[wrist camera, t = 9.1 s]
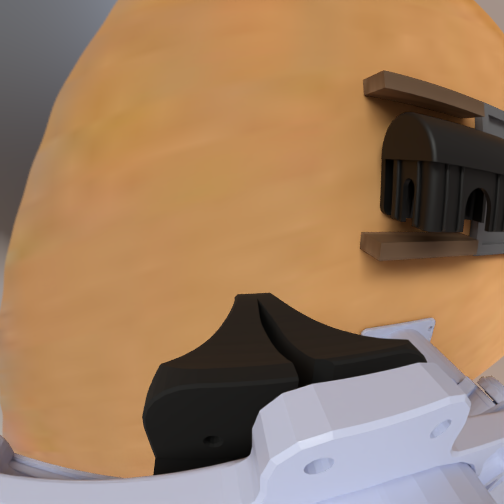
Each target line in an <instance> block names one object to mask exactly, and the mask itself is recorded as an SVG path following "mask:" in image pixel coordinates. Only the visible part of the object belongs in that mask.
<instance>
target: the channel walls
mask: <svg viewBox="0 0 504 504" xmlns="http://www.w3.org/2000/svg"><path fill="white" fill-rule="evenodd" d="M363 84H364V95H365V96H371V97H377V98H382V99H387V100H392V101H397V102H401V103H406V104H410V105H414V106H419V107H423V108H427V109H430V110H434V111H438V112H441V113H445V114H448V115H452V116H455V117H458V118H474V117H485V110H484V103H483V102H481V101H479V100H476V99H474V98H471V97H469V96H466V95H463V94H461V93H458V92H455V91H453V90H450V89H447V88H444V87H441V86H438V85H435V84H432V83H429V82H425V81H422V80H419V79H415V78H412V77H408V76H404V75H401V74H397V73H393V72H389V71H384V70H383V71H381V72H379V73H377V74H375V75H373V76H371V77H368V78H366V79H364V80H363ZM478 243H479V240H477V239H474V238H472V237H469V236H466V235H464V234H461V233H459V232H361V242H360V249H362V250H363V251H365V252H366V253H368V254H369V255H371V256H373V257H374V258H376V259H377V260H379V261H385V260H402V259H419V258H435V257H450V256H465V255H477V249H478Z"/></svg>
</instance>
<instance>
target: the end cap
mask: <svg viewBox="0 0 504 504" xmlns="http://www.w3.org/2000/svg"><path fill="white" fill-rule="evenodd" d="M381 159H382V171H381V196H380V209H381V211H382V212H383V213H385V214H387V215H391V218H392V219H395V220H398V221H400V222H406V218H412V226H413V227H416V228H419V229H421V230H424V231H428V232H463V226H464V219H468V220H474V221H477V222H480V223H484V219H485V209H486V201H487V211H486V221H485V229H484V231H487V232H504V139H502V138H500V137H498V136H495V135H492V134H489V133H486V132H483V131H480V130H477V129H474V128H470V127H467V126H464V125H460V124H457V123H453V122H450V121H446V120H442V119H439V118H435V117H431V116H427V115H422V114H418V113H413V112H405V113H403V114H400V115H399V116H397V117H396V118H395V119H394V120H393V121H392V123H391V124H390V126H389V128H388V129H387V132H386V135H385V138H384V142H383V147H382V158H381Z"/></svg>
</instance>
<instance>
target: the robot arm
mask: <svg viewBox="0 0 504 504" xmlns="http://www.w3.org/2000/svg"><path fill="white" fill-rule="evenodd" d="M434 325H435V320H434V319H433V318H426V319H421V320H416V321H410V322H405V323H399V324H393V325H387V326H380V327H374V328H367V329H365V330H363V331H362V333H361V335H358V334H353V333H350V332H346V331H342V330H339V329H336V328H333V327H330V326H327V325H325V324H322V323H320V322H317V321H315V320H313V319H311V318H309V317H307V316H305V315H304V314H302V313H300V312H298V311H297V310H295V309H293V308H292V307H290V306H289V305H287V304H286V303H284V302H283V301H281V300H280V299H278V298H277V297H275V296H274V295H272V294H271V293H257V294H238V295H237V296H236V297H235V301H234V304H233V307H232V309H231V311H230V313H229V315H228V316H227V318H226V320H225V321H224V322H223V324H222V325H221V327H220V328H219V329H218V330H217V332H216V333H215V334H214V335H213V336H212V337H211V338H210V339H209V340H207V341H206V342H205V343H203V344H202V345H201V346H199V347H198V348H196V349H195V350H193V351H191V352H189V353H187V354H185V355H183V356H181V357H179V358H176V359H174V360H171V361H168V362H166V363H162V364H161V365H160V366H159V368H158V370H157V372H156V374H155V376H154V378H153V380H152V383H151V385H150V387H149V390H148V393H147V397H146V401H145V406H144V411H143V416H142V418H143V425H144V429H145V431H146V434H147V437H148V440H149V442H150V445H151V448H152V450H153V453H154V455H155V466H154V474H153V476H144V477H134V478H120V477H113V476H106V475H100V474H94V473H89V472H84V471H79V470H74V469H69V468H65V467H61V466H57V465H53V464H49V463H46V462H42V461H39V460H35V459H32V458H29V457H25V456H22V455H19V454H16V453H14V451H13V450H12V448H11V446H10V445H9V443H8V442H7V441H6V440H5V438H3V437H2V436H1V435H0V504H504V386H503V385H502V384H501V383H500V382H499V381H498V380H496V379H495V378H494V377H492V376H488V377H481V378H480V379H479V381H478V382H477V383H478V384H479V385H480V386H481V387H482V388H483V389H484V390H485V392H486V393H487V394H488V395H489V396H490V397H491V398H492V399H493V400H494V401H492V400H491V399H490V398H489V397H488V396H486V394H485V393H484V392H483V391H482V390H481V389H480V388H479V387H478V386H477V385H476V384H474V382H473V381H472V380H471V379H470V378H468V377H466V376H465V375H464V374H463V373H462V372H461V371H460V370H459V369H458V368H457V367H456V366H454V365H453V364H452V363H451V362H450V361H449V360H448V359H447V358H446V357H445V356H444V355H443V354H442V353H441V352H440V351H439V350H438V349H437V348H436V347H435V346H433V345H432V344H431V343H430V340H431V336H432V333H433V329H434ZM429 327H430V328H429Z"/></svg>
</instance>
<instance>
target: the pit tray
mask: <svg viewBox="0 0 504 504" xmlns="http://www.w3.org/2000/svg"><path fill="white" fill-rule="evenodd" d="M481 102H482V101H481ZM483 103H484V102H483ZM484 110H485V117H475V129H477V130H480V131H483V132H486V133H489V134H492V135H495V136H498V137H500V138H502V139H504V111H502V110H500V109H498V108H496V107H493V106H491V105H489V104H486V103H484ZM486 211H487V201H486V209H485V219H484V223H480V222H477V221H474V220H471V228H470V236H469V237H472V238H474V239H477V240H479V243H478V249H477V255H473V256H479V255H493V254H504V232H487V231H484V229H485V221H486Z"/></svg>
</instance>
